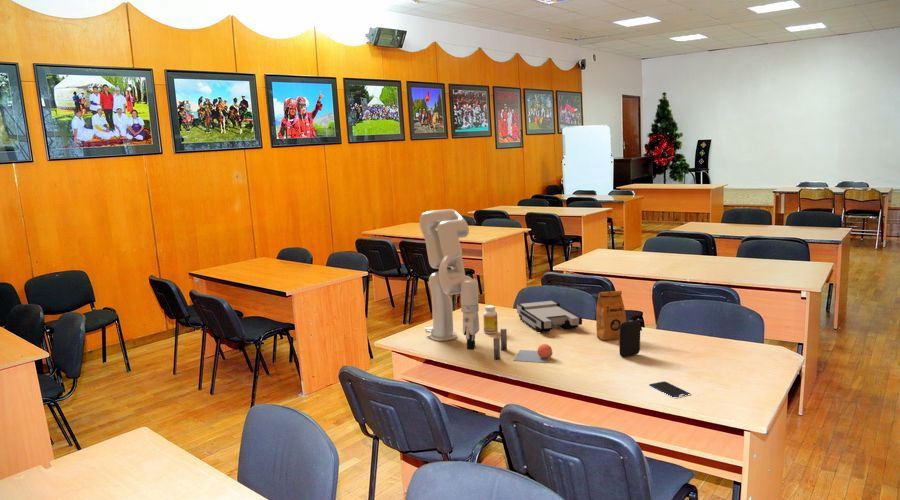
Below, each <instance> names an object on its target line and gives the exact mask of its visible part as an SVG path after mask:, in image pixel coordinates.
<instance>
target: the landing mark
mask: <svg viewBox="0 0 900 500" xmlns="http://www.w3.org/2000/svg"><path fill="white" fill-rule="evenodd" d="M550 358H551V356H550V357H549V358H546V359H544V358H541V357H540V356H539V355H538V352H537V350H527V349H519V350H518V353H516V356H515V357H514V358H513V362H525V363H528V362H529V363H540V364H541V363H542V364H549V363H548V362H549V361H550Z"/></svg>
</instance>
